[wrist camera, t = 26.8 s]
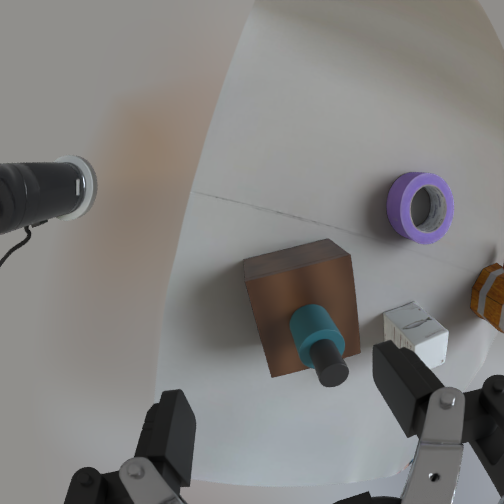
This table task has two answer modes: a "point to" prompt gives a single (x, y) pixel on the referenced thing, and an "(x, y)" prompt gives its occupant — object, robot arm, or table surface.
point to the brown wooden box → (301, 297)
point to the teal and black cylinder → (319, 344)
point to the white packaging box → (417, 333)
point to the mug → (490, 296)
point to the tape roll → (439, 209)
